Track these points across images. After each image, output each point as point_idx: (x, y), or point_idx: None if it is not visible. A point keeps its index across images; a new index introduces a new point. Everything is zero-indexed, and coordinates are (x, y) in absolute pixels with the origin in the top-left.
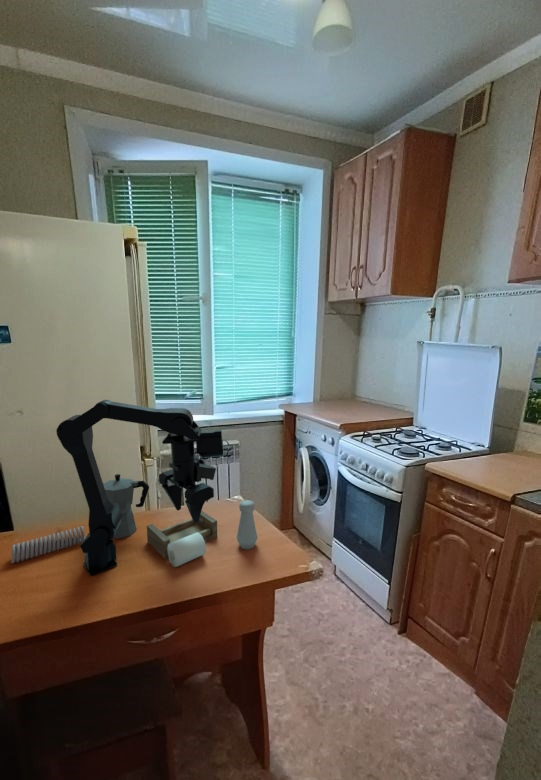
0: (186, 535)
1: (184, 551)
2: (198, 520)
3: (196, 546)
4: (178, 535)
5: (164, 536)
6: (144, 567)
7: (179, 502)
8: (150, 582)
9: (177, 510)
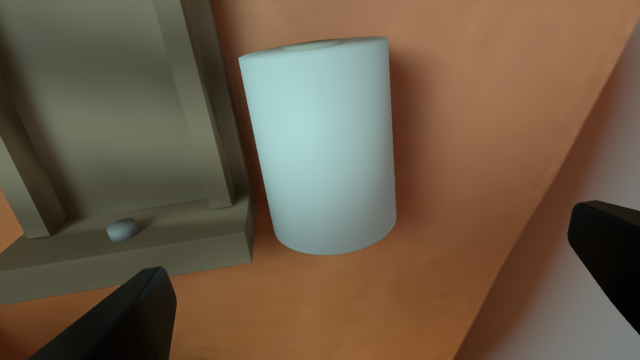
0: (97, 51)
1: (393, 185)
2: (609, 205)
3: (389, 107)
4: (75, 96)
5: (194, 249)
6: (271, 286)
7: (127, 354)
8: (376, 285)
9: (173, 299)
